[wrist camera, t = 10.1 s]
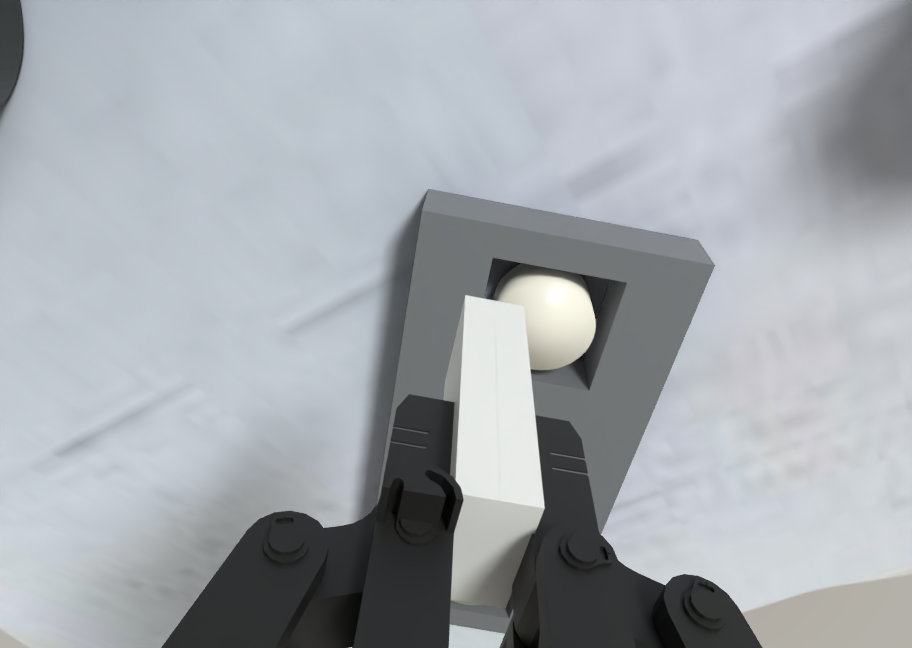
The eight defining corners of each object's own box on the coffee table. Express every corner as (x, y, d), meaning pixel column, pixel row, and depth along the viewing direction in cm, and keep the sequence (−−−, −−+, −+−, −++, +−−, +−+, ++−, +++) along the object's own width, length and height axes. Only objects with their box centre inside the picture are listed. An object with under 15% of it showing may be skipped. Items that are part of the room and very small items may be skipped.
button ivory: (484, 334, 36) (483, 360, 34) (504, 251, 33) (504, 273, 31) (575, 351, 36) (580, 378, 34) (601, 269, 33) (608, 292, 31)
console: (368, 573, 48) (360, 609, 45) (428, 189, 32) (421, 210, 30) (552, 604, 48) (555, 641, 45) (698, 240, 33) (714, 265, 30)
